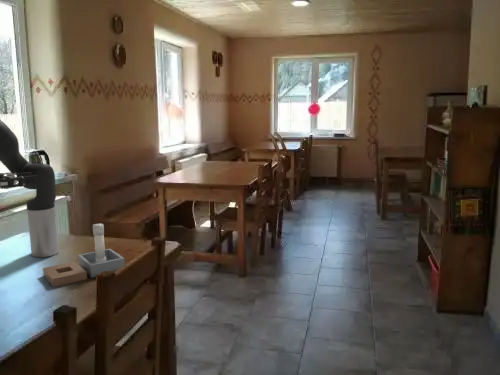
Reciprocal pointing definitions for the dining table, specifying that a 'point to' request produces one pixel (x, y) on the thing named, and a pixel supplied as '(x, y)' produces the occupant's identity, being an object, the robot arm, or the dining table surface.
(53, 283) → the block
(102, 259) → the fuse
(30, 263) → the dining table surface
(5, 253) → the dining table surface
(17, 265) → the dining table surface
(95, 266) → the parts tray
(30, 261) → the dining table surface
